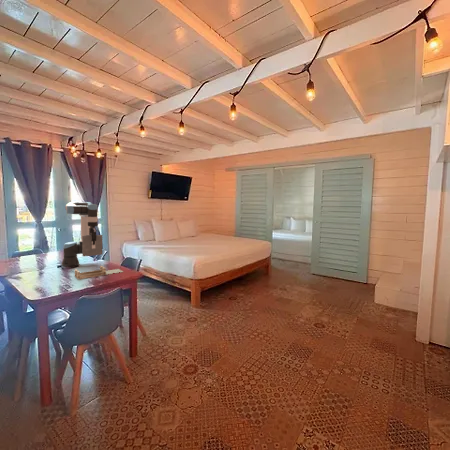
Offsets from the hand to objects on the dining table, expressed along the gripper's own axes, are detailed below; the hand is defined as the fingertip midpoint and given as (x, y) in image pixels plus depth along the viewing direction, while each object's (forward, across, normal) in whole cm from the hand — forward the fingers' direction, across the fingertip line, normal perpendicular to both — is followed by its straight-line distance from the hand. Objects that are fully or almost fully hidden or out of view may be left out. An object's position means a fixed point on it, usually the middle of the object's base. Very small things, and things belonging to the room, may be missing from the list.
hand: (92, 247), depth 211 cm
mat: (+25, 0, +17) cm, 30 cm away
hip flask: (+7, 0, 0) cm, 7 cm away
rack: (+25, 0, -2) cm, 25 cm away
